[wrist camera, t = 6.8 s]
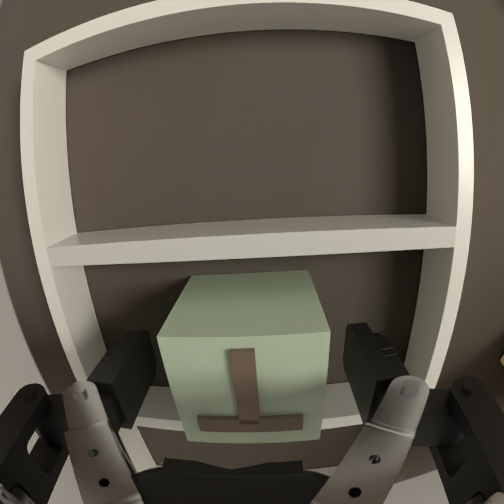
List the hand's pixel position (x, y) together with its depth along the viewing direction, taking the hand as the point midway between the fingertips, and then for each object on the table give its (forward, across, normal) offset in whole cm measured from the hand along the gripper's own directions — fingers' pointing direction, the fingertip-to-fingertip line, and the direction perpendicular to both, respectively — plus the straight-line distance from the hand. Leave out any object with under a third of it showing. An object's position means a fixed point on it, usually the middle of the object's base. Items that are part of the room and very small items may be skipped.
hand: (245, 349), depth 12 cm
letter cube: (+2, 0, 0) cm, 2 cm away
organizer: (+2, 0, 0) cm, 2 cm away
